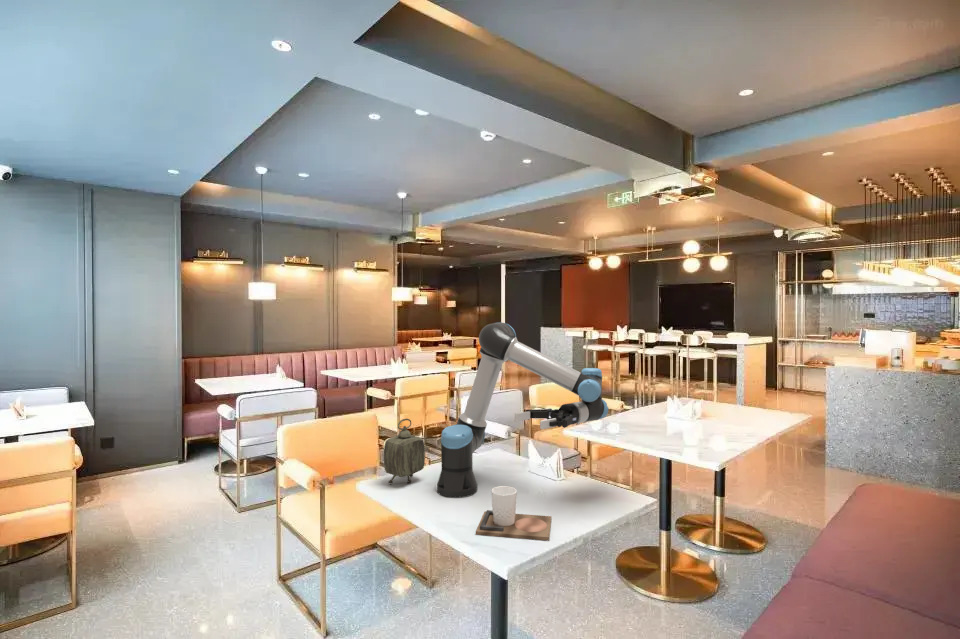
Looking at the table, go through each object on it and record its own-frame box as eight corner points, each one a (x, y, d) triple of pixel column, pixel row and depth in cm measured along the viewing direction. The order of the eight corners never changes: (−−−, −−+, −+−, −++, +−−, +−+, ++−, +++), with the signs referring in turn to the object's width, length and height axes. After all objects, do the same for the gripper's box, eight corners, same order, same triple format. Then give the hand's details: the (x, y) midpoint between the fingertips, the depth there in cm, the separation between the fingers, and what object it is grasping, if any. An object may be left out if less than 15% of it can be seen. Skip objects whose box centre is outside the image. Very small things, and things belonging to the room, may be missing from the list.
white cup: (514, 528, 153) (514, 496, 153) (489, 526, 155) (489, 494, 154) (518, 517, 161) (518, 486, 160) (494, 515, 162) (494, 485, 162)
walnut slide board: (475, 534, 151) (475, 528, 151) (484, 514, 166) (484, 508, 166) (549, 540, 147) (549, 534, 147) (551, 519, 162) (551, 513, 162)
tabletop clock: (411, 474, 205) (411, 414, 204) (427, 479, 199) (426, 417, 199) (383, 484, 194) (383, 420, 193) (399, 490, 188) (398, 424, 188)
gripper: (598, 430, 171) (552, 440, 159) (549, 417, 192) (505, 425, 180) (598, 408, 171) (552, 416, 159) (549, 398, 192) (505, 404, 180)
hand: (527, 421), depth 170 cm, fingers open, 13 cm apart
